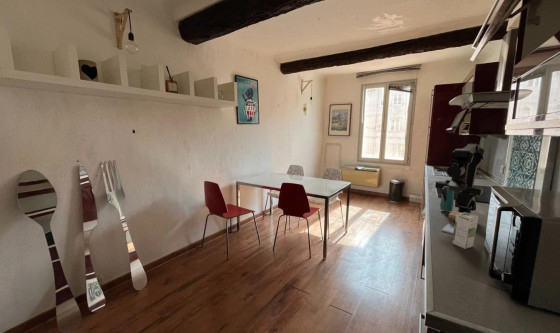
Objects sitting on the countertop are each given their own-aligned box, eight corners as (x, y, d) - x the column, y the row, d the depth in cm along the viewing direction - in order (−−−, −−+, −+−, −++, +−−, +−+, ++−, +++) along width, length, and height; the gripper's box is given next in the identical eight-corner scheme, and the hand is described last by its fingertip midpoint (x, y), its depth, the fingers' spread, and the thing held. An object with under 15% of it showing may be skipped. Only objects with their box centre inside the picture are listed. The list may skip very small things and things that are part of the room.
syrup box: (459, 241, 107) (463, 211, 104) (474, 247, 102) (478, 216, 99) (451, 243, 105) (455, 213, 102) (465, 249, 100) (470, 217, 97)
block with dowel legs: (451, 220, 130) (453, 210, 129) (462, 223, 126) (464, 213, 125) (447, 224, 125) (448, 214, 124) (458, 227, 121) (460, 216, 120)
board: (448, 225, 124) (448, 223, 124) (469, 230, 117) (469, 229, 117) (441, 230, 117) (441, 229, 117) (463, 237, 110) (463, 235, 110)
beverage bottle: (454, 213, 140) (458, 181, 137) (442, 213, 141) (446, 181, 138) (448, 210, 146) (452, 179, 143) (437, 209, 148) (441, 178, 144)
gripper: (432, 174, 118) (429, 203, 121) (480, 180, 104) (475, 213, 107) (440, 170, 125) (437, 198, 128) (485, 176, 111) (480, 206, 114)
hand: (455, 203), depth 119 cm, fingers open, 9 cm apart
